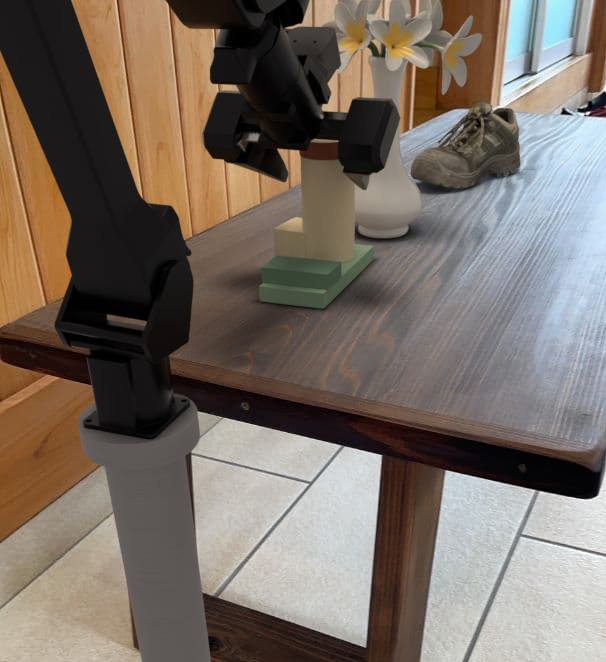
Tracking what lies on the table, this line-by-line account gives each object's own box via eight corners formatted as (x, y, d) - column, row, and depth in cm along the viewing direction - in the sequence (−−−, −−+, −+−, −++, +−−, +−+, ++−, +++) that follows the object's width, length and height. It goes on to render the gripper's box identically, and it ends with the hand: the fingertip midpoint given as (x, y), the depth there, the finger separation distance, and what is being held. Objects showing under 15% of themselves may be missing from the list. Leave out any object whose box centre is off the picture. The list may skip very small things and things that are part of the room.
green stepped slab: (324, 309, 85) (324, 277, 83) (258, 301, 87) (256, 270, 85) (374, 260, 96) (374, 231, 95) (315, 254, 99) (314, 225, 97)
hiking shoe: (385, 169, 122) (427, 92, 113) (475, 160, 134) (518, 90, 125) (424, 213, 119) (469, 137, 110) (511, 200, 132) (559, 131, 123)
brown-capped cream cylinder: (364, 252, 94) (365, 133, 87) (340, 267, 90) (340, 144, 83) (297, 242, 97) (294, 128, 90) (272, 257, 93) (266, 138, 86)
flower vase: (444, 255, 97) (462, -4, 82) (299, 238, 104) (292, -5, 89) (477, 224, 106) (499, -13, 92) (342, 210, 113) (342, -13, 99)
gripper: (397, -7, 71) (433, 116, 85) (206, -8, 78) (269, 107, 92) (357, 113, 70) (401, 218, 84) (167, 102, 77) (238, 200, 91)
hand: (325, 181), depth 88 cm, fingers open, 9 cm apart
